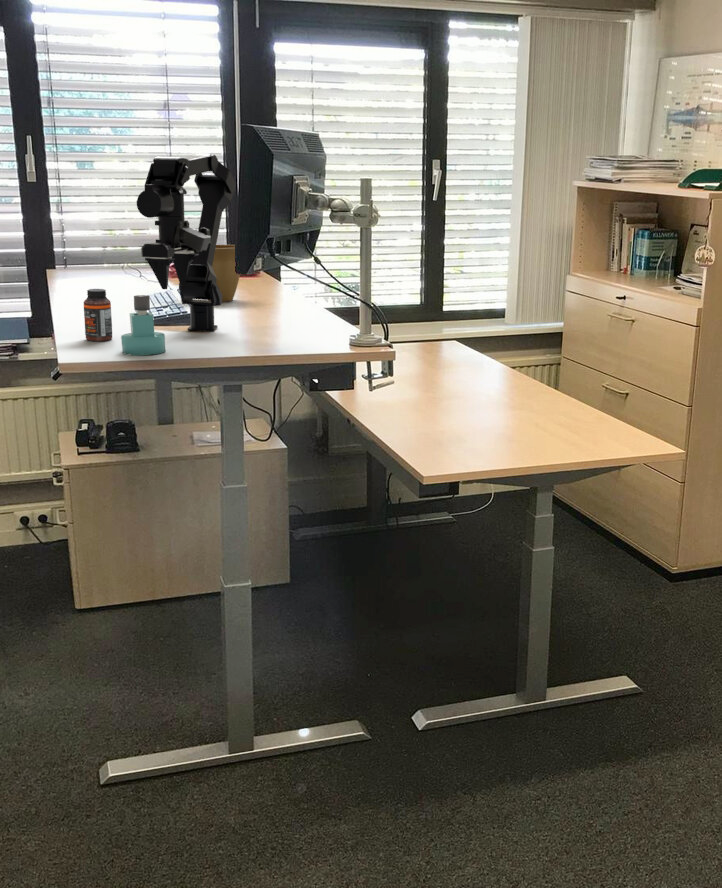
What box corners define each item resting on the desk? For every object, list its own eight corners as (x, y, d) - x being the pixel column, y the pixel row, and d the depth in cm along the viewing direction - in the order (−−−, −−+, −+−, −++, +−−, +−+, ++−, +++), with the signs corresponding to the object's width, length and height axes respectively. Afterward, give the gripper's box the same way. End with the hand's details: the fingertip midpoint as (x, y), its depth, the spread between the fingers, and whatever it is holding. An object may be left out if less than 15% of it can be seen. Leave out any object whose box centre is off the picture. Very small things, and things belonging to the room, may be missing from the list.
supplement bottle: (79, 340, 208) (76, 289, 205) (98, 336, 213) (95, 287, 210) (100, 342, 206) (96, 292, 202) (118, 339, 211) (115, 289, 207)
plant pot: (248, 297, 282) (247, 244, 277) (240, 304, 268) (239, 248, 263) (199, 296, 282) (198, 243, 278) (189, 303, 268) (187, 247, 263)
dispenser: (120, 349, 200) (117, 312, 198) (162, 346, 203) (159, 310, 200) (124, 356, 192) (121, 318, 189) (168, 353, 195) (165, 315, 192)
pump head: (137, 332, 198) (135, 295, 195) (152, 333, 198) (150, 295, 195) (134, 335, 195) (132, 297, 192) (149, 335, 195) (147, 297, 192)
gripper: (186, 219, 193) (189, 293, 198) (221, 215, 211) (223, 284, 215) (138, 217, 196) (142, 291, 200) (176, 213, 213) (179, 281, 218)
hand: (173, 286), depth 208 cm, fingers open, 9 cm apart
